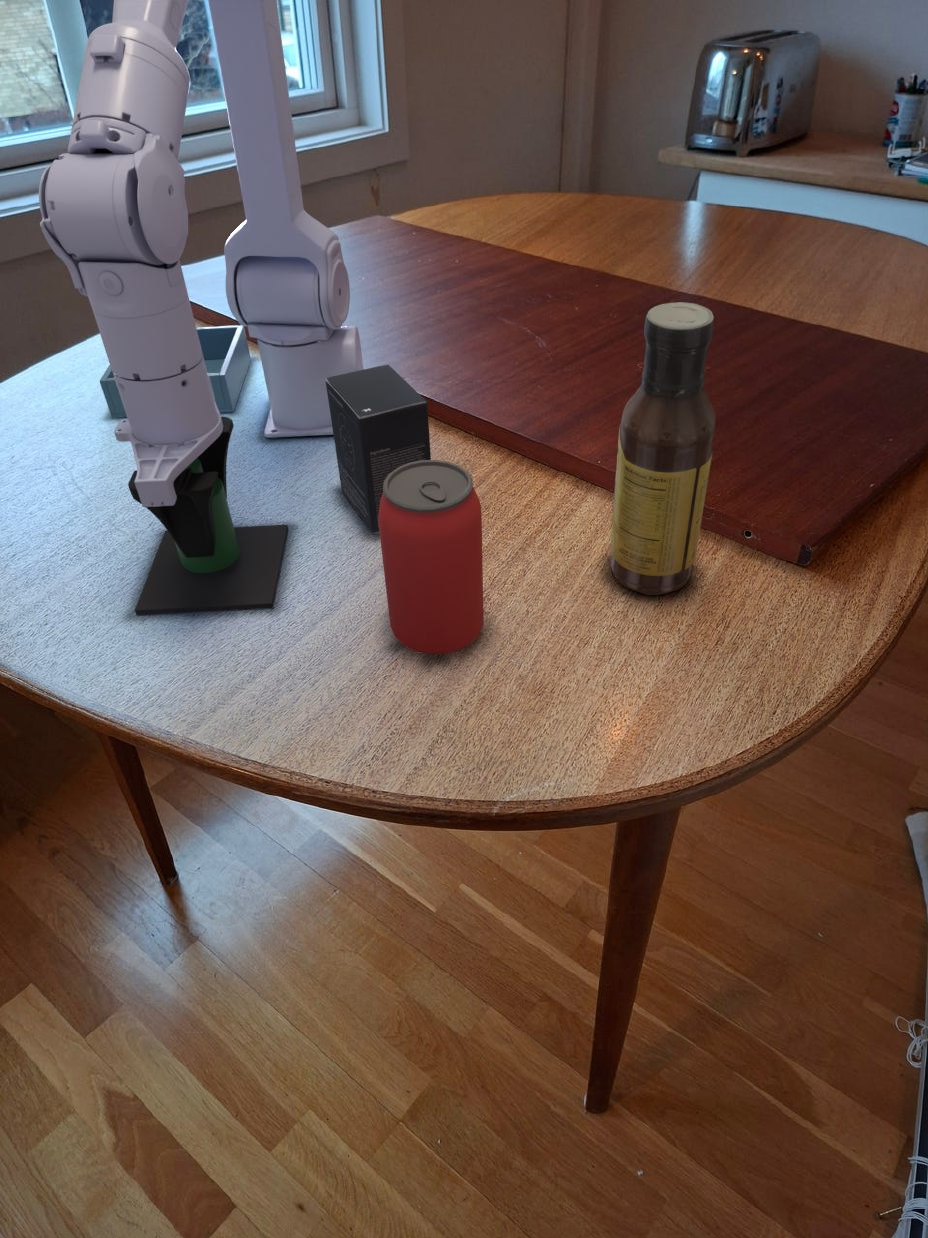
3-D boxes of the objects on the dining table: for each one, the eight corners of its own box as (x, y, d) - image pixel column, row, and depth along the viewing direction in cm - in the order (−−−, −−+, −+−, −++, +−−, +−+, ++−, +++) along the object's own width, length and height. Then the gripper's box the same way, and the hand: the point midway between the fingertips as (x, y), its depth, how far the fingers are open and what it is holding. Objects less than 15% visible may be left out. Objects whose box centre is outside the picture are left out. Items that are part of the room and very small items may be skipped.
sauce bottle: (653, 538, 67) (690, 284, 54) (709, 579, 63) (763, 315, 50) (588, 565, 65) (610, 306, 51) (642, 610, 61) (680, 342, 47)
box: (436, 517, 70) (428, 400, 63) (372, 537, 68) (357, 418, 61) (399, 473, 75) (389, 360, 68) (339, 490, 74) (322, 376, 67)
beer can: (415, 672, 57) (401, 524, 49) (376, 615, 61) (357, 472, 53) (501, 639, 59) (500, 493, 51) (457, 587, 63) (451, 444, 55)
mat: (288, 529, 69) (287, 524, 69) (273, 608, 62) (272, 603, 62) (166, 535, 69) (164, 530, 69) (136, 615, 62) (134, 610, 61)
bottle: (243, 537, 66) (221, 447, 61) (234, 572, 63) (210, 479, 58) (187, 540, 66) (160, 450, 61) (175, 574, 63) (145, 483, 58)
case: (251, 359, 94) (243, 324, 91) (233, 412, 85) (224, 374, 82) (141, 365, 94) (130, 330, 91) (111, 418, 85) (99, 380, 82)
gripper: (124, 319, 60) (173, 484, 69) (59, 418, 49) (128, 598, 58) (224, 315, 60) (260, 479, 69) (181, 412, 49) (231, 593, 58)
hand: (206, 534), depth 63 cm, fingers closed on bottle, 4 cm apart
